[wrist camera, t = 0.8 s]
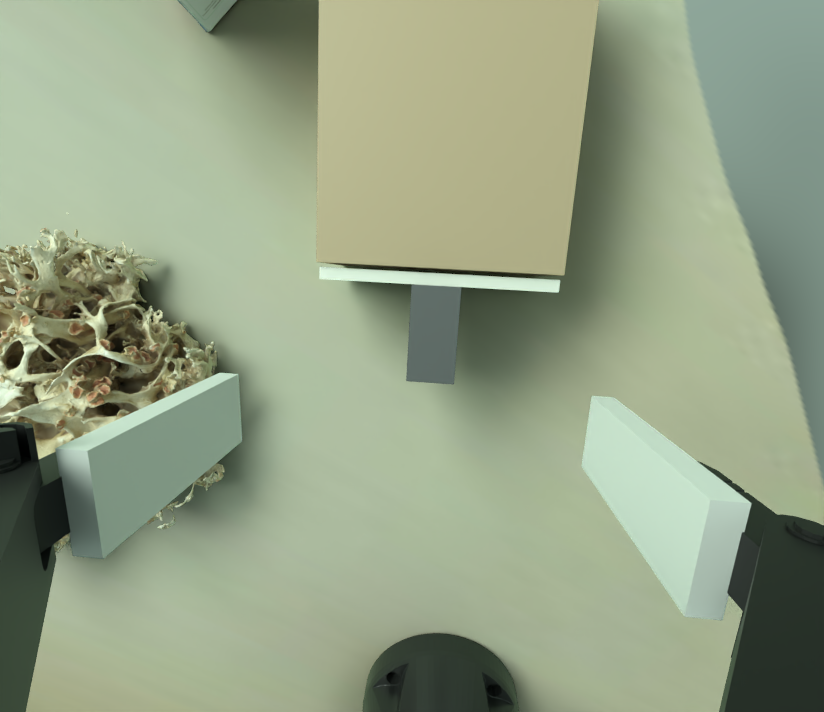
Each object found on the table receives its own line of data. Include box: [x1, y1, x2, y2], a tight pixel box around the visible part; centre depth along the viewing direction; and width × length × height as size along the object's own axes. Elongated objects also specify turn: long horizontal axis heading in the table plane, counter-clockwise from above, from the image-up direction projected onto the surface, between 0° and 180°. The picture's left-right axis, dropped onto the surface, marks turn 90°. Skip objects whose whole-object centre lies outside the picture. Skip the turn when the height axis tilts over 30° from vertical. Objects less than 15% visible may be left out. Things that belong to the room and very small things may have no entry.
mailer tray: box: [320, 267, 560, 384], centre depth 27 cm, size 26×16×8 cm, turn 177°
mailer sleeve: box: [316, 0, 599, 276], centre depth 27 cm, size 20×16×7 cm
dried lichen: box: [0, 213, 225, 553], centre depth 32 cm, size 27×30×11 cm
